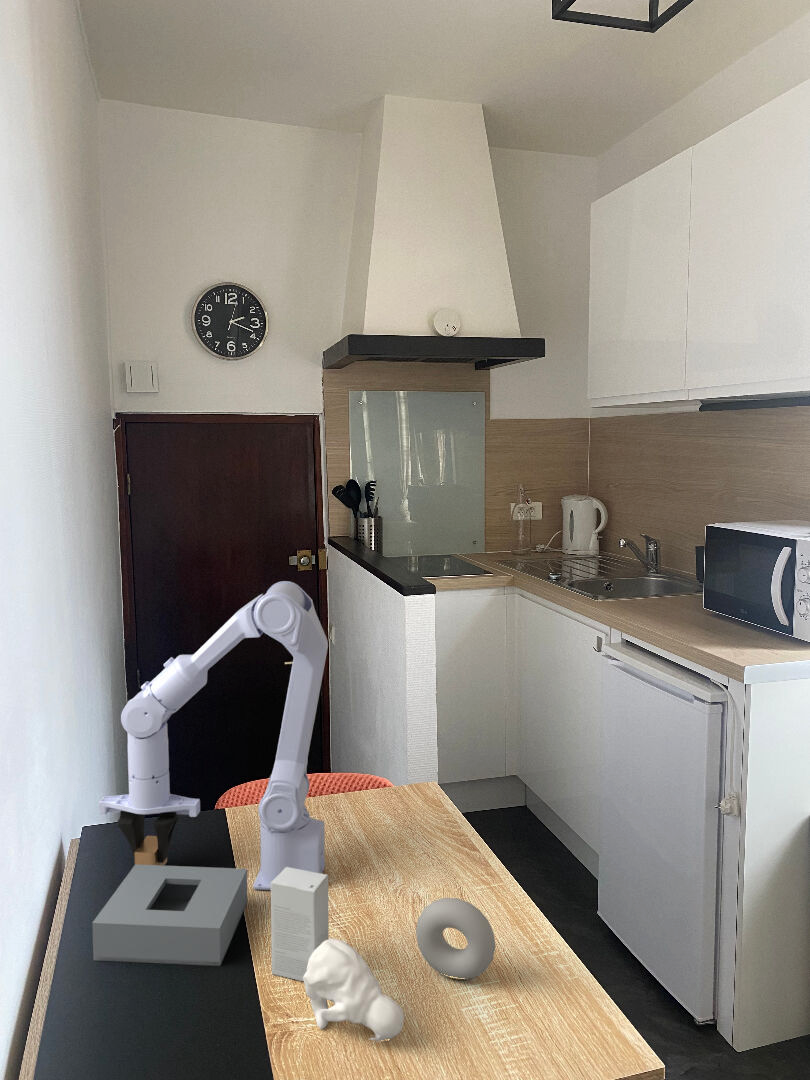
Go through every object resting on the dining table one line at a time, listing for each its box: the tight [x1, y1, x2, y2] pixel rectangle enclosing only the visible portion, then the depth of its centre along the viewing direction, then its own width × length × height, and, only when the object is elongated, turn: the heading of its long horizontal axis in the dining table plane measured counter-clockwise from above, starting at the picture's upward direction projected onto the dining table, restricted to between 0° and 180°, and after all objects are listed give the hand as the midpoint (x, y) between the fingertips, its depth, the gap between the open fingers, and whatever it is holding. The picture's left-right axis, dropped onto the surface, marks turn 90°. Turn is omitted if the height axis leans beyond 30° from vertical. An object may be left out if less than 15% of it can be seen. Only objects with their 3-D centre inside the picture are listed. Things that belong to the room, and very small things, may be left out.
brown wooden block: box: [134, 835, 168, 866], centre depth 120 cm, size 3×5×4 cm, turn 177°
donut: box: [415, 897, 497, 980], centre depth 98 cm, size 10×3×10 cm, turn 69°
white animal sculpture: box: [302, 937, 405, 1042], centre depth 89 cm, size 6×8×12 cm
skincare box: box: [270, 867, 330, 982], centre depth 99 cm, size 6×4×12 cm
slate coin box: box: [91, 863, 248, 967], centre depth 107 cm, size 16×14×5 cm
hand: (151, 859), depth 120 cm, fingers closed on brown wooden block, 3 cm apart
